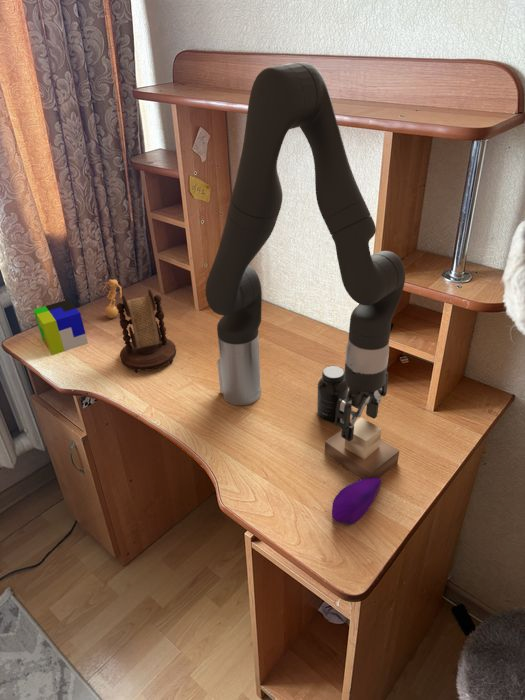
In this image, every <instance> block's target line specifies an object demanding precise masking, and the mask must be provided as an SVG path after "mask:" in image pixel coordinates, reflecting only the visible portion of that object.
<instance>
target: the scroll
mask: <svg viewBox="0 0 525 700" xmlns="http://www.w3.org/2000/svg"><path fill="white" fill-rule="evenodd" d="M147 292H148V294H147V296H142V297H138V298H132V299H128V300H127V299H126V296H125V294H122V303H121V302H119V303H117V304H116V307H117V310H118V314H119V325H120V328H121V329H122V335H123V337H122V340H123V341H124V344H125V345H124V346H123V347H122V349H121V350H120V353H119V357H120V362H121V364H122V365H123V366H124V367H125V368H128V369H130V370H133V372H134V373H135V374H137V373H138V371H149V370H150V371H151V370H155V369H159V368H161V367H163V366H166V365H168V364H172V363H173V359H174V358H175V357H176V354H177V347H176V345H175V343H174V341H172V340H171V339H169V338H168V337H167V336H166V335H167V333H166V331H167V327H166V326H165V324H166V323H165V322H164V319H165V314H164V311H163V306H162V305H161V304H162V296H161V295H159V294H155V295H154V294H153V293H154V292H153V291H152V290H151V289H150V288H148V291H147ZM155 311H156V312H155ZM125 314H126V315H125ZM126 317H128V318H130V319H127V318H126ZM157 320H158V321H157ZM129 325H130V326H129ZM131 325H132V326H131ZM128 326H129V327H128Z"/></svg>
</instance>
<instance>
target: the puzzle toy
mask: <svg viewBox="0 0 525 700" xmlns="http://www.w3.org/2000/svg"><path fill="white" fill-rule="evenodd" d="M33 313H34V316H35V319H36V323H37V326H38V330H39V332H40V336H41V338H42V341H43V344H45V346H46V347H47V349H48V351H49V352H50V353H51V355H52V356H55V355H57V354H61V353H63V352H67V351H69V350H72V349H75V348H79V347H81V346H82V347H83V346H85V345H88V343H89V342H88V338H87V334H86V331H85V326H84V322H83V318H82V314H81V312H80V310H79V309H78V308H77V307H76V306H75V305H74V303H72V301H71V300H70V299H69V298H68V299H65V300H62V301H61V300H60V301H58V302H55V303H52V304H48V305H45V306H42V307H38V308H35V309H33Z"/></svg>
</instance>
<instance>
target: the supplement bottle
mask: <svg viewBox="0 0 525 700" xmlns="http://www.w3.org/2000/svg"><path fill="white" fill-rule="evenodd" d="M344 372H345V369H343V368H342V367H340V366H338V365H328V366H326V367H324V368H323V369H322V373H321V377H320V379H319V381H318V383H317V407H316V408H317V415H318V416H319V418H320V419H321V420H323V421H325V422H327V423H335V415H336V406H337V401H338V400H339V399H342V400H345V399H346V398H347V394H348V391H349V388H348V386H347V384H346V382H345V380H344Z"/></svg>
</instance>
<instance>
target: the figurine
mask: <svg viewBox="0 0 525 700" xmlns="http://www.w3.org/2000/svg"><path fill="white" fill-rule="evenodd" d="M108 285H109V291H108V294H107V296H106V298H107V299H108V300H109V301H110V303H109V304H108V305H107V306H106V307H105V310H104V313H105V316H106V317H107V318H109V319H115V318H116V317H117V316H118V315H119V313H118V311H119V310H117V305H115V304H116V300H117V299H115V298H116V295H117V293H118V292H117V291H116V289H117V287H118V289H119V296H118V297H119V298H120V299H122V296H123V294H122V291H123V290H122V289H123V288H122V286H121V285H120V284H119V283H118V280H117V279H109V280H108V282H106V284H105V285H104V286H103V289H102V291H104V290H105V289H106V288H107V287H108Z"/></svg>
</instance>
